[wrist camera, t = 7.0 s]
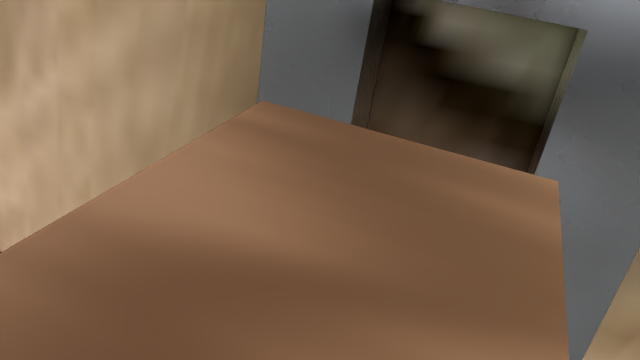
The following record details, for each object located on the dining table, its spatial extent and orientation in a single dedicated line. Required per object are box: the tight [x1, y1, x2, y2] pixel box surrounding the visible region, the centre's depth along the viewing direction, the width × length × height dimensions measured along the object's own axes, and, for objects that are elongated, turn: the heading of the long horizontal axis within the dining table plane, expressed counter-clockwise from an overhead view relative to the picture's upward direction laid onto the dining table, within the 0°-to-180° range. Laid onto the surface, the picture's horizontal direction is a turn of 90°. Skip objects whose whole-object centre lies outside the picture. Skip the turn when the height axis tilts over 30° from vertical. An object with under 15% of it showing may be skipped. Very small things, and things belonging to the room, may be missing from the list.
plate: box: [257, 0, 640, 360], centre depth 18 cm, size 13×16×3 cm
